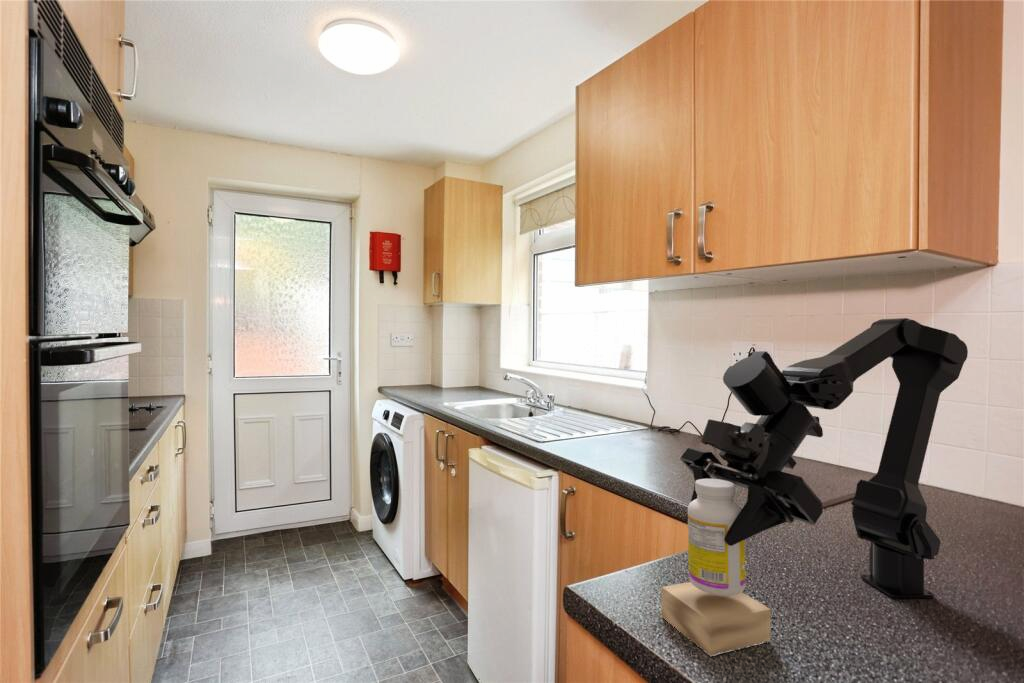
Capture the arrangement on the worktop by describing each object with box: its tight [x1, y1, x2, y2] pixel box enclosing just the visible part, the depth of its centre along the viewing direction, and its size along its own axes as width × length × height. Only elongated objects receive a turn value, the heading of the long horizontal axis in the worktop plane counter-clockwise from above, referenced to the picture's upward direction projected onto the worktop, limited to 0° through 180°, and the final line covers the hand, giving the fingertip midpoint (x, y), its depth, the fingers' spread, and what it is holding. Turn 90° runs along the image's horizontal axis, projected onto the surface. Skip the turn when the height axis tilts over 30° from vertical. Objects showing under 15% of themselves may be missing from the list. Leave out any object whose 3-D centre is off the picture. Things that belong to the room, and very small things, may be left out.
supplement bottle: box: [687, 479, 747, 596], centre depth 64 cm, size 7×7×13 cm
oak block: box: [661, 581, 772, 655], centre depth 64 cm, size 9×9×4 cm
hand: (706, 533), depth 63 cm, fingers closed on supplement bottle, 6 cm apart
